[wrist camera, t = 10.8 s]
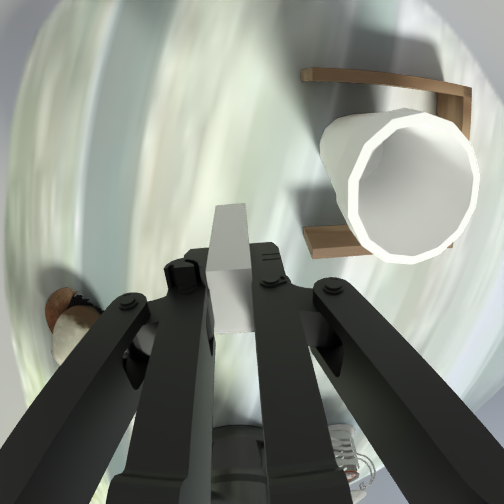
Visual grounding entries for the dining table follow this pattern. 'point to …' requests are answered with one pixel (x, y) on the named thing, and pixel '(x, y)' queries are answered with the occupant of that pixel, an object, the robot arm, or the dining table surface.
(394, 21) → the dining table surface
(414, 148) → the foam cup
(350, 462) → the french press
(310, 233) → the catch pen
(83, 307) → the white and brown lump
